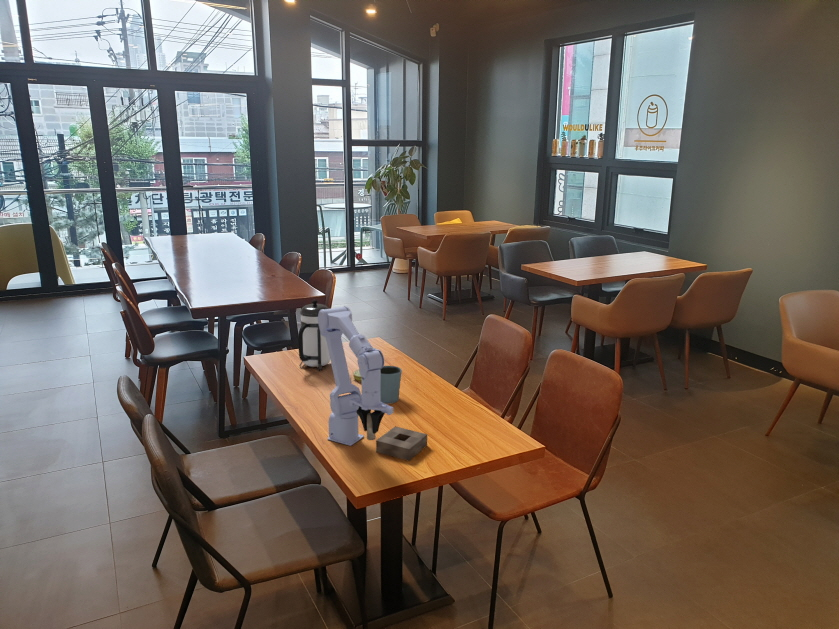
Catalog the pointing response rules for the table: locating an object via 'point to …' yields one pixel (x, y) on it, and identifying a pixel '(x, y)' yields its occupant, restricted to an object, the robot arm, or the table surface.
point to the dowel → (369, 428)
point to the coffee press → (312, 337)
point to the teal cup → (390, 384)
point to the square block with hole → (401, 443)
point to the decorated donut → (357, 375)
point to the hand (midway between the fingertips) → (371, 431)
